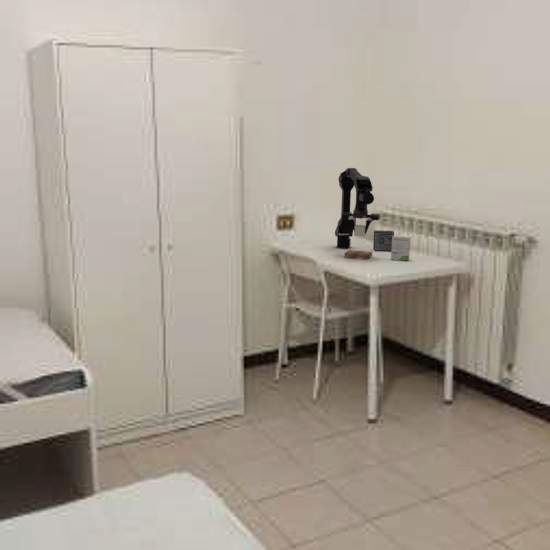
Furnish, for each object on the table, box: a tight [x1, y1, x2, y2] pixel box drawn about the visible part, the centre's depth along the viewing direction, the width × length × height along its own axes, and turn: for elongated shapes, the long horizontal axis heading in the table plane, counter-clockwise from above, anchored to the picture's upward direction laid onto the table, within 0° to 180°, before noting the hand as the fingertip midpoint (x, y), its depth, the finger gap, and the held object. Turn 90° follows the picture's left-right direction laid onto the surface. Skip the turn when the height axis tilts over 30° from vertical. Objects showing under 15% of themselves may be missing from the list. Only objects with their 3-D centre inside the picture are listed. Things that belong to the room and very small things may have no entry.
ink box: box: [390, 235, 411, 261], centre depth 352 cm, size 9×5×12 cm, turn 71°
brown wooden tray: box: [344, 249, 373, 260], centre depth 359 cm, size 12×10×2 cm
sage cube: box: [353, 224, 367, 238], centre depth 357 cm, size 5×5×5 cm
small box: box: [372, 229, 395, 252], centre depth 378 cm, size 11×6×10 cm, turn 84°
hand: (360, 233), depth 357 cm, fingers closed on sage cube, 5 cm apart
